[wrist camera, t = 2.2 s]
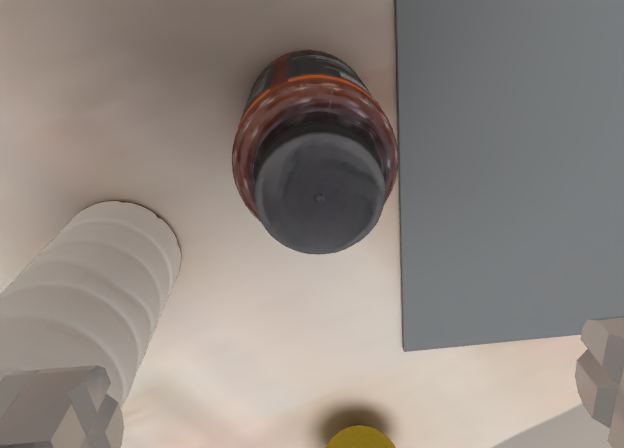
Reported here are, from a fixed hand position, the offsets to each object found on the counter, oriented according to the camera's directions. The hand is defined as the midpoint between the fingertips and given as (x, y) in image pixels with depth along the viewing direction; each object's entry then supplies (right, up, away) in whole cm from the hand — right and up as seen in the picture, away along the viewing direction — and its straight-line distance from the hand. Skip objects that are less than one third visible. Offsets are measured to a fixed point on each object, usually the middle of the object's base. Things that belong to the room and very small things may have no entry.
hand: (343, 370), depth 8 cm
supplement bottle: (-1, +8, +16) cm, 18 cm away
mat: (+11, +5, +18) cm, 22 cm away
